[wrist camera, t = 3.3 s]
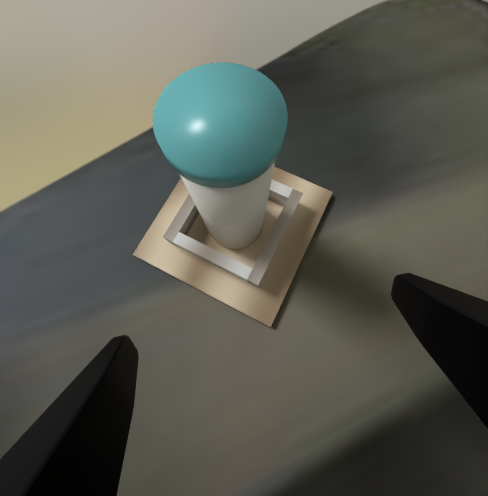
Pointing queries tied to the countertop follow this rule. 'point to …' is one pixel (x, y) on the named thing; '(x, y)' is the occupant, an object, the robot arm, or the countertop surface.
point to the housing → (238, 260)
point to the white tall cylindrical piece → (223, 144)
